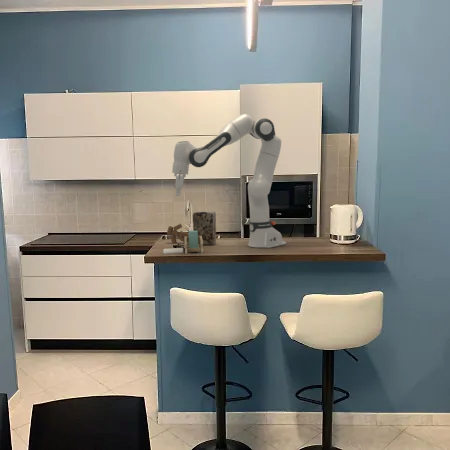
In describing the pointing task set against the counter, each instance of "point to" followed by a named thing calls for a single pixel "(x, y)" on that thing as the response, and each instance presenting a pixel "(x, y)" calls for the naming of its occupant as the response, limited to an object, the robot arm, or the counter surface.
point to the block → (193, 239)
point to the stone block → (205, 226)
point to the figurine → (176, 233)
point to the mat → (173, 250)
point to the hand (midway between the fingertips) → (178, 195)
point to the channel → (199, 249)
